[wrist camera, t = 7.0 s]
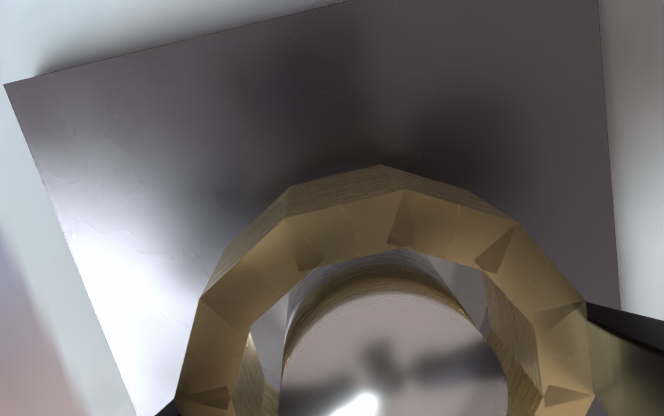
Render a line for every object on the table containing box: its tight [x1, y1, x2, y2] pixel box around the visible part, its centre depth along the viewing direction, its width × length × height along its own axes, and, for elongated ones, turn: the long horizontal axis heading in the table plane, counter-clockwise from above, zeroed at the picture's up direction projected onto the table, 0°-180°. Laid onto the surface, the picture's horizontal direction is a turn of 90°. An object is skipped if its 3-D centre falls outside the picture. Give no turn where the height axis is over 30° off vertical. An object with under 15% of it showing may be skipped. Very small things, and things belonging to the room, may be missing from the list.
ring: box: [174, 164, 595, 416], centre depth 9 cm, size 7×7×2 cm
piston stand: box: [3, 0, 621, 416], centre depth 10 cm, size 14×14×6 cm
